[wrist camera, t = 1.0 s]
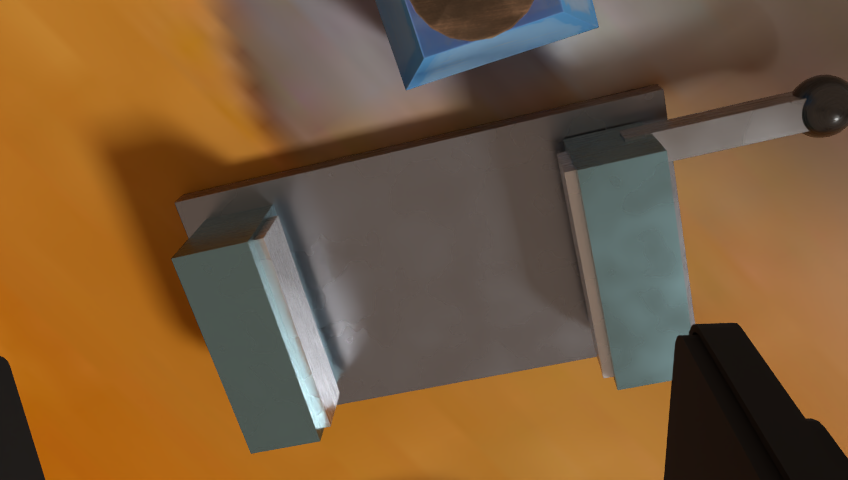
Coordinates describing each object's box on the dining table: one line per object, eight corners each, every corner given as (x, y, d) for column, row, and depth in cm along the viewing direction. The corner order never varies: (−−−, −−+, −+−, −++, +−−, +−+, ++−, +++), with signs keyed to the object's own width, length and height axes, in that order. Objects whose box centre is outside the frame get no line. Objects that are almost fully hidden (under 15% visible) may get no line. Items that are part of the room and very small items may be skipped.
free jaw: (834, 61, 28) (890, 82, 24) (845, 290, 31) (896, 340, 28) (550, 126, 29) (562, 156, 26) (591, 339, 33) (607, 391, 29)
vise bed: (657, 84, 30) (692, 113, 25) (690, 326, 34) (726, 390, 29) (182, 194, 32) (135, 240, 28) (265, 406, 36) (236, 476, 32)
